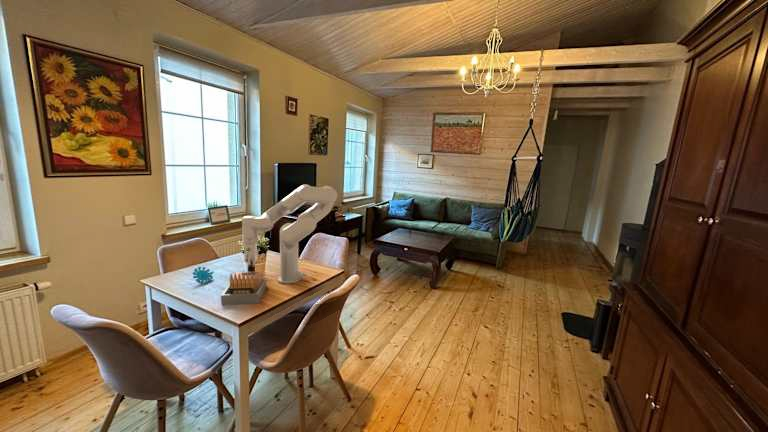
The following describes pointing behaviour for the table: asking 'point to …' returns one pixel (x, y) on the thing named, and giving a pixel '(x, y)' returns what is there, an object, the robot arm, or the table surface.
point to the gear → (202, 275)
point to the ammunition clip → (241, 284)
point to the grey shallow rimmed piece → (243, 296)
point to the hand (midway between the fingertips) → (251, 273)
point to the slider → (256, 278)
